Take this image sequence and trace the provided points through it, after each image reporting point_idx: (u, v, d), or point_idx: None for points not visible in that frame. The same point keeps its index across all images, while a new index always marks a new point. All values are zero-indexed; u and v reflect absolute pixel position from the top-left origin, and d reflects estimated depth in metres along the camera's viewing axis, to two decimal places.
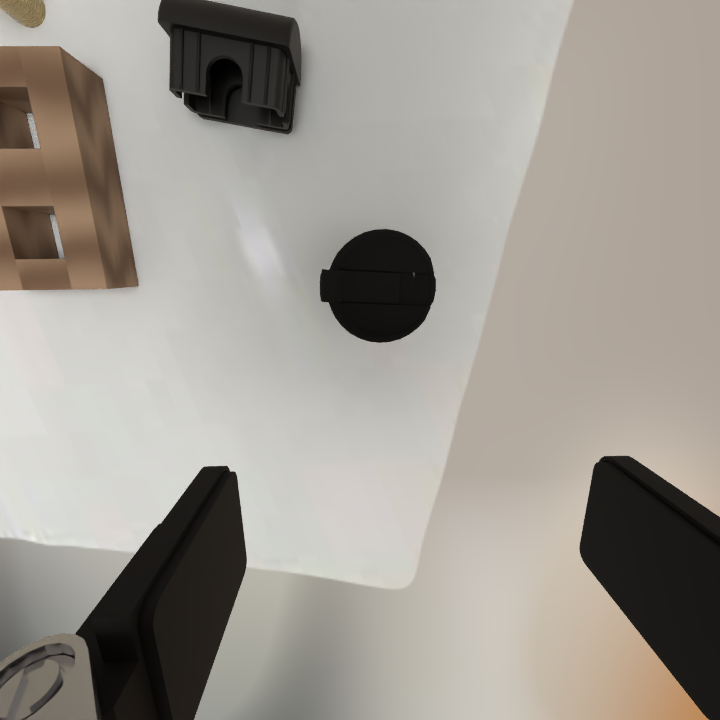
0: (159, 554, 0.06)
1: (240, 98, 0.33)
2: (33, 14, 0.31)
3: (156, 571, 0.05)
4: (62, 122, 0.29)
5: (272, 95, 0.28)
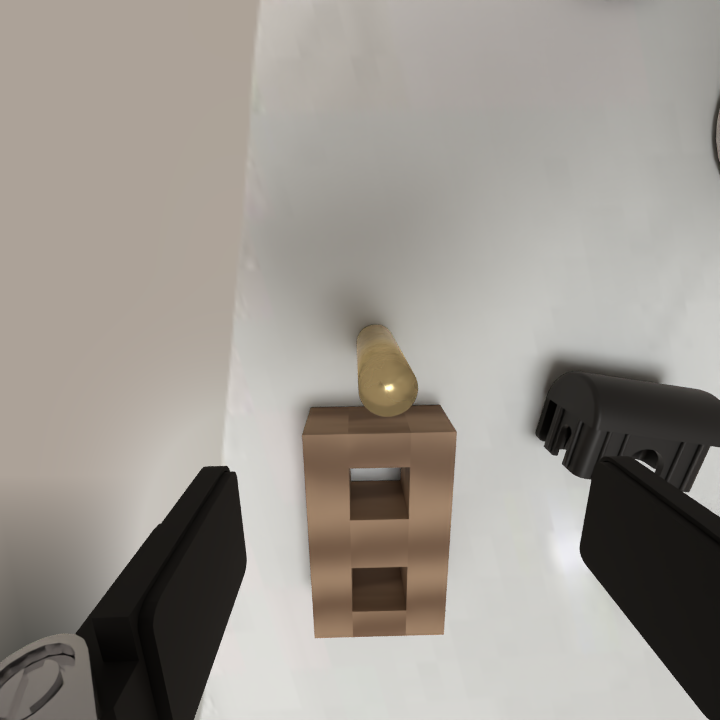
0: (159, 554, 0.06)
1: None
2: None
3: (156, 571, 0.05)
4: (439, 496, 0.26)
5: (690, 482, 0.25)
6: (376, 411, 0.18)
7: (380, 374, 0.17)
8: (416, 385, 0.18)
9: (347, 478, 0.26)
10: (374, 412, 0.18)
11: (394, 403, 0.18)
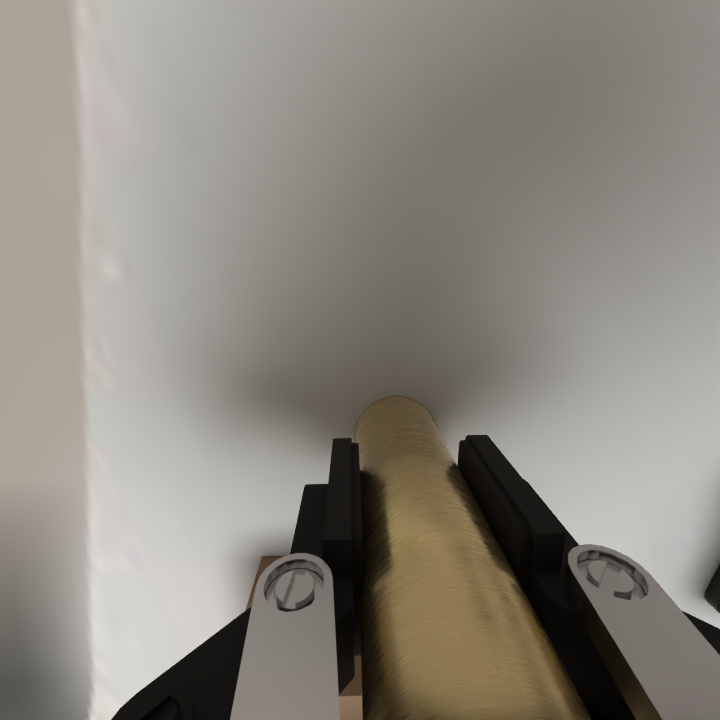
0: (343, 499, 0.07)
1: None
2: None
3: (349, 511, 0.07)
4: None
5: None
6: None
7: None
8: None
9: None
10: None
11: None
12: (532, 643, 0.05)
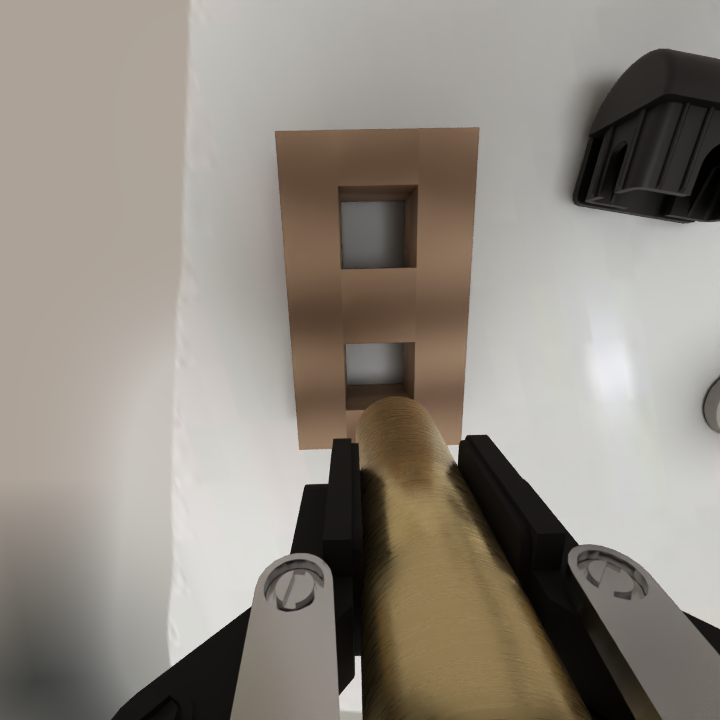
0: (343, 499, 0.07)
1: None
2: None
3: (349, 511, 0.07)
4: (455, 232, 0.20)
5: None
6: None
7: None
8: None
9: (336, 202, 0.20)
10: None
11: None
12: (532, 643, 0.05)
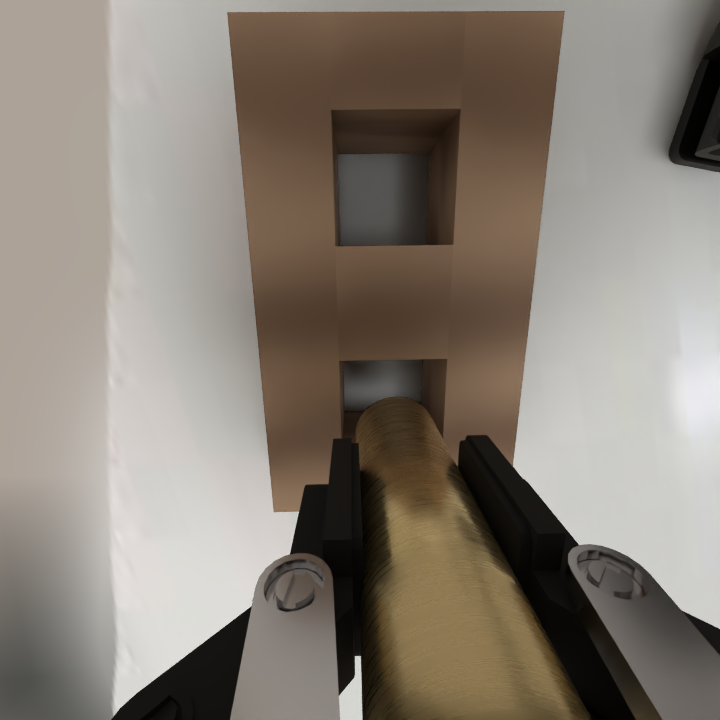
0: (344, 500, 0.07)
1: None
2: None
3: (350, 511, 0.07)
4: (516, 188, 0.13)
5: None
6: None
7: None
8: None
9: (328, 136, 0.12)
10: None
11: None
12: (533, 645, 0.05)
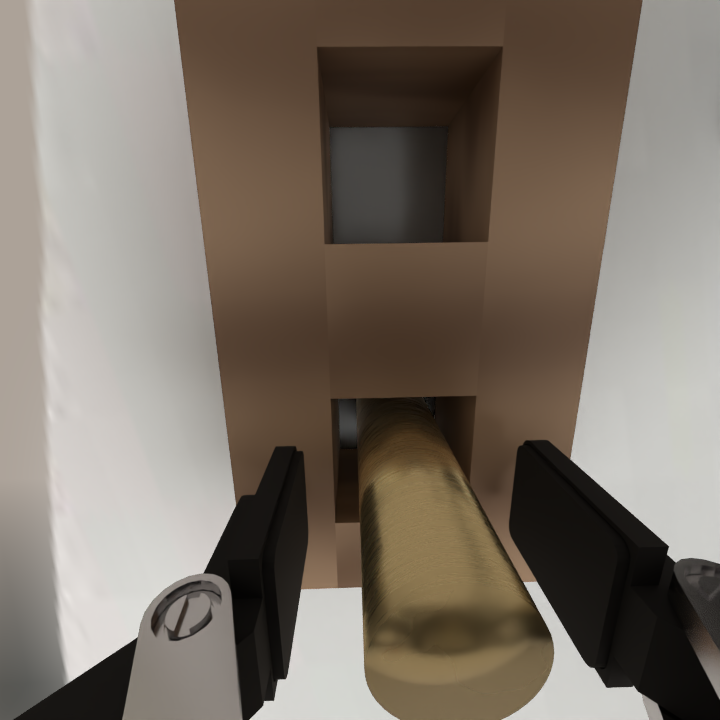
0: (265, 514, 0.07)
1: None
2: None
3: (267, 527, 0.06)
4: (578, 163, 0.09)
5: None
6: (420, 719, 0.06)
7: (436, 627, 0.05)
8: (549, 652, 0.06)
9: (313, 87, 0.09)
10: None
11: (474, 699, 0.06)
12: (465, 497, 0.08)
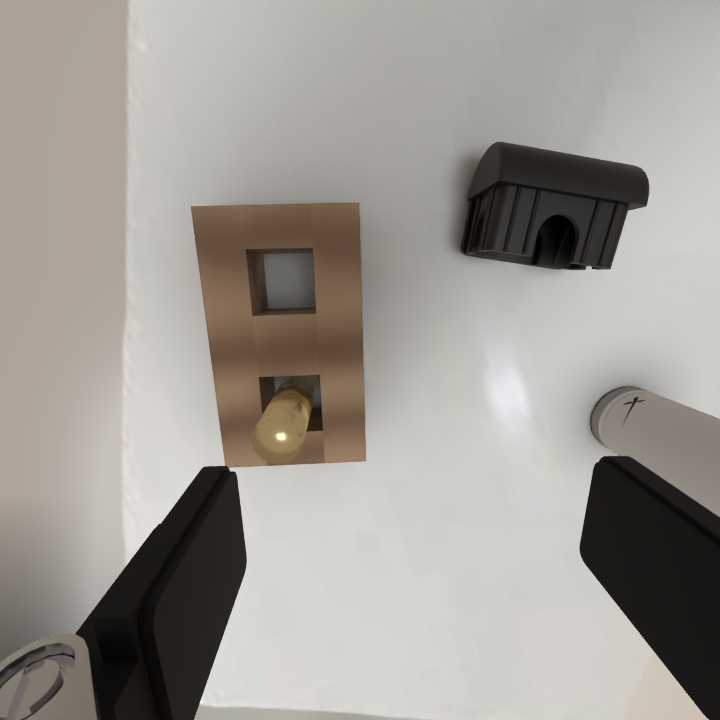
0: (159, 554, 0.06)
1: None
2: None
3: (156, 571, 0.05)
4: (346, 285, 0.24)
5: (609, 255, 0.24)
6: (268, 459, 0.21)
7: (269, 428, 0.20)
8: (301, 436, 0.20)
9: (245, 262, 0.24)
10: (267, 460, 0.21)
11: (283, 452, 0.21)
12: (294, 405, 0.23)
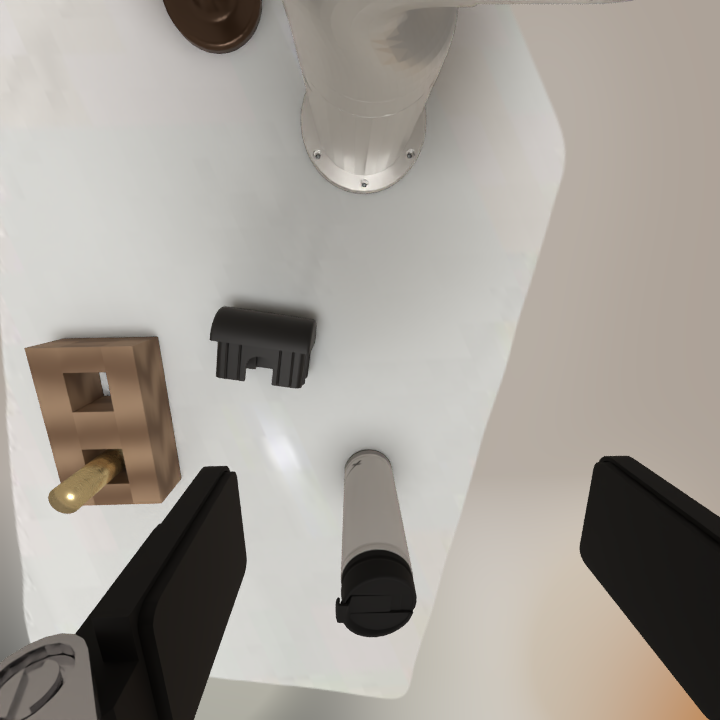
0: (159, 554, 0.06)
1: None
2: None
3: (156, 571, 0.05)
4: (131, 394, 0.38)
5: (295, 381, 0.37)
6: (61, 511, 0.34)
7: (58, 493, 0.34)
8: (78, 498, 0.34)
9: (63, 380, 0.37)
10: (59, 511, 0.34)
11: (69, 507, 0.34)
12: (87, 474, 0.36)
